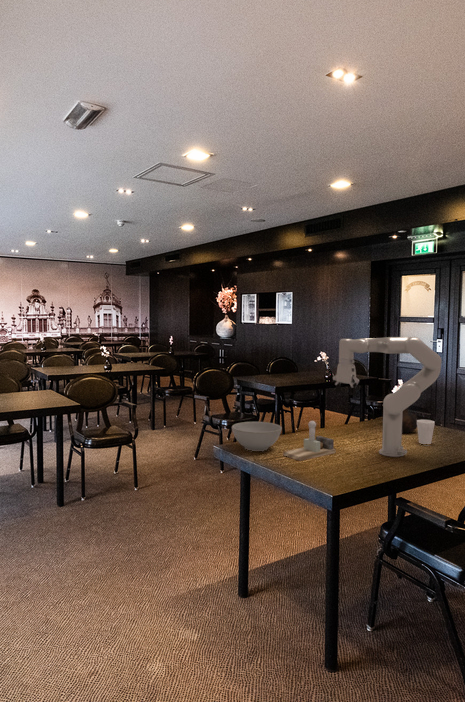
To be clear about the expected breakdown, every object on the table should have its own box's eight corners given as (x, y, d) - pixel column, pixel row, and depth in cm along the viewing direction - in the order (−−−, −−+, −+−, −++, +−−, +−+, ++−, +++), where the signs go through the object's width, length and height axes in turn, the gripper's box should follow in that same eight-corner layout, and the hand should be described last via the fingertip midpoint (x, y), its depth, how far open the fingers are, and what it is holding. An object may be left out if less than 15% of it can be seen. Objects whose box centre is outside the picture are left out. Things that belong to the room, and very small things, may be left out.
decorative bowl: (270, 441, 283) (271, 420, 282) (289, 453, 257) (289, 430, 256) (225, 444, 275) (225, 422, 274) (239, 457, 249) (240, 433, 249)
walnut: (324, 448, 260) (324, 443, 260) (319, 449, 258) (319, 443, 258) (319, 447, 263) (319, 441, 263) (314, 448, 261) (314, 442, 261)
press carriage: (320, 451, 255) (321, 421, 254) (315, 452, 252) (316, 422, 251) (308, 447, 262) (308, 419, 261) (302, 448, 260) (303, 419, 259)
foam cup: (434, 446, 275) (435, 423, 274) (416, 445, 278) (417, 422, 277) (433, 442, 284) (433, 420, 283) (415, 441, 287) (416, 419, 286)
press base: (335, 452, 259) (335, 439, 259) (299, 460, 244) (300, 447, 243) (318, 448, 269) (318, 435, 269) (283, 455, 253) (283, 442, 253)
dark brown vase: (418, 435, 301) (420, 390, 299) (387, 433, 306) (389, 388, 304) (416, 429, 318) (418, 386, 316) (387, 427, 323) (389, 385, 321)
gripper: (363, 362, 259) (362, 395, 260) (338, 360, 273) (337, 391, 274) (354, 363, 254) (353, 396, 255) (329, 361, 268) (328, 392, 269)
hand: (345, 393), depth 265 cm, fingers open, 9 cm apart
